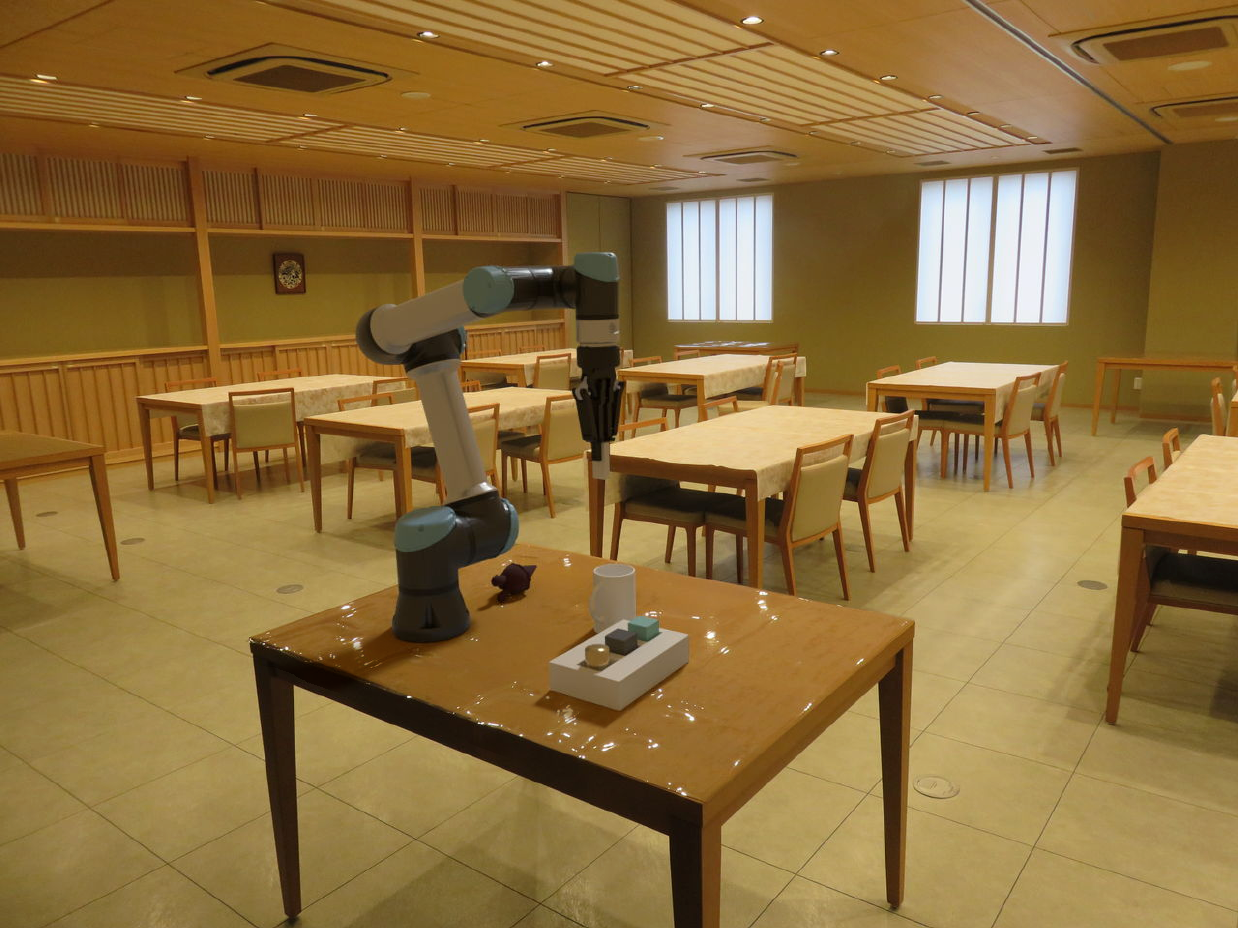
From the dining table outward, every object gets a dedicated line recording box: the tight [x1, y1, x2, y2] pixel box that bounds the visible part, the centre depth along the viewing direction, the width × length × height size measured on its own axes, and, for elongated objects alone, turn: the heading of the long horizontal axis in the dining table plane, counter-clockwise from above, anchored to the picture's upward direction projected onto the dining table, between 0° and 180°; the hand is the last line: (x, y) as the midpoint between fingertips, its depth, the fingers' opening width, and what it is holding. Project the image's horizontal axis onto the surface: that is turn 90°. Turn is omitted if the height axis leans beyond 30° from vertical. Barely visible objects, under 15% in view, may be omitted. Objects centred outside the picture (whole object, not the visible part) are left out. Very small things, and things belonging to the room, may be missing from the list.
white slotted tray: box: [548, 619, 690, 712], centre depth 155 cm, size 14×22×5 cm, turn 146°
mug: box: [588, 563, 637, 635], centre depth 174 cm, size 12×8×12 cm
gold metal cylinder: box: [585, 644, 610, 671], centre depth 149 cm, size 4×4×4 cm
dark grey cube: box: [605, 629, 638, 656], centre depth 154 cm, size 4×4×4 cm
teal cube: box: [628, 615, 660, 642], centre depth 160 cm, size 4×4×4 cm
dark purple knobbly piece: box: [490, 562, 538, 603], centre depth 197 cm, size 7×7×15 cm
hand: (601, 477), depth 160 cm, fingers closed
